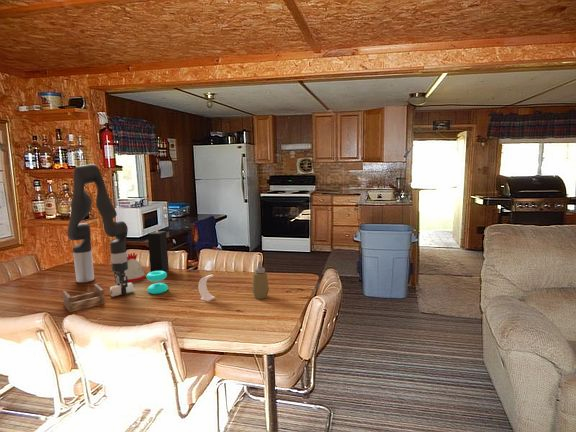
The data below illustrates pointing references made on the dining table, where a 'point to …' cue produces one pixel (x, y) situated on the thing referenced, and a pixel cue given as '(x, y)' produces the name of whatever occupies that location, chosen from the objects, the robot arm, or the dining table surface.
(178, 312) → the dining table surface
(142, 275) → the beanie hat
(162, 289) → the teal stacked discs
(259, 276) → the squeeze bottle
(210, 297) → the white curved piece
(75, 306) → the roll cradle
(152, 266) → the black rectangular block
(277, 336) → the dining table surface
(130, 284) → the paper roll
